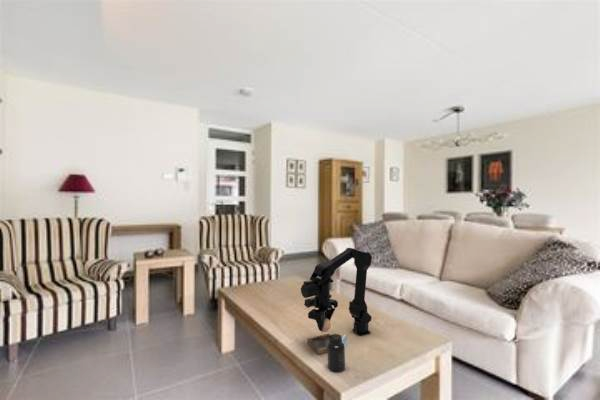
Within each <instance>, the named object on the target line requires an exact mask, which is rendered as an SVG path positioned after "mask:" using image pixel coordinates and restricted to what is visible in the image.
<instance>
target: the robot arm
mask: <svg viewBox="0 0 600 400" xmlns="http://www.w3.org/2000/svg"><path fill="white" fill-rule="evenodd" d="M372 258H373V256H372V254H371V253H370V252H367V251H363V250H358V249H356V248H353V247H346V248H345V250H343V251H342V252H341V253H339V254H337V255H336V256H334V257H333V258H332V259H330V260H328V261H324V262H320V263H318V264H317V265H316V266H315V267H314V270H313V272H312V273H311V276H310V277H309V280H305V281H303V284H301V286H300V293H301V295H302V297H303V298H304V304H303V305H304V306H305V307H306V308H307V309H309V308H312V307H314V308H312V309H311V310H310V311H309V312H308V313H307V318H308V319H311V320H315V323H316V325H318V326H317V329H318V328H319V329H318V330H319V332H322V329H323V326H324V323H325V319H326V318H327V319H328V320H329V321H330V322H331V320H332V317H333V315H334V313H335V310H336V308H338V307H339V302H338V301H337V299H332V294H330V290H331V288H330V287H331V286H330V283H334V279H332V276H333V275H335V272H336V270H338V268H341V266H343V265H344V264H346V263H347V262H349V261H350V260H351V259H353V260H354V261H353V263H354V265H355V267H356V273H355V274H356V275H355V283H354V285H355V286H354V296H353V299H352V301H351V300H350V301H349V302H348V304H349V305H348V310H349V312H348V313H349V314H350V315H351V318H353V320H354V321H353V328H352V331H353V332H354V333H356V334H357V335H358V336H365V335H369V334H371V331H370V330H369V323H370V322H371V321H372V318H373V317H372V315H370V314H369V312H368V306H367V303H366V300H365V297H366V287H367V286H366V284H367V277H368V276H367V273H368V272H367V271H368V270H369V268H370V267H371V264H372V260H373V259H372Z"/></svg>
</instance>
